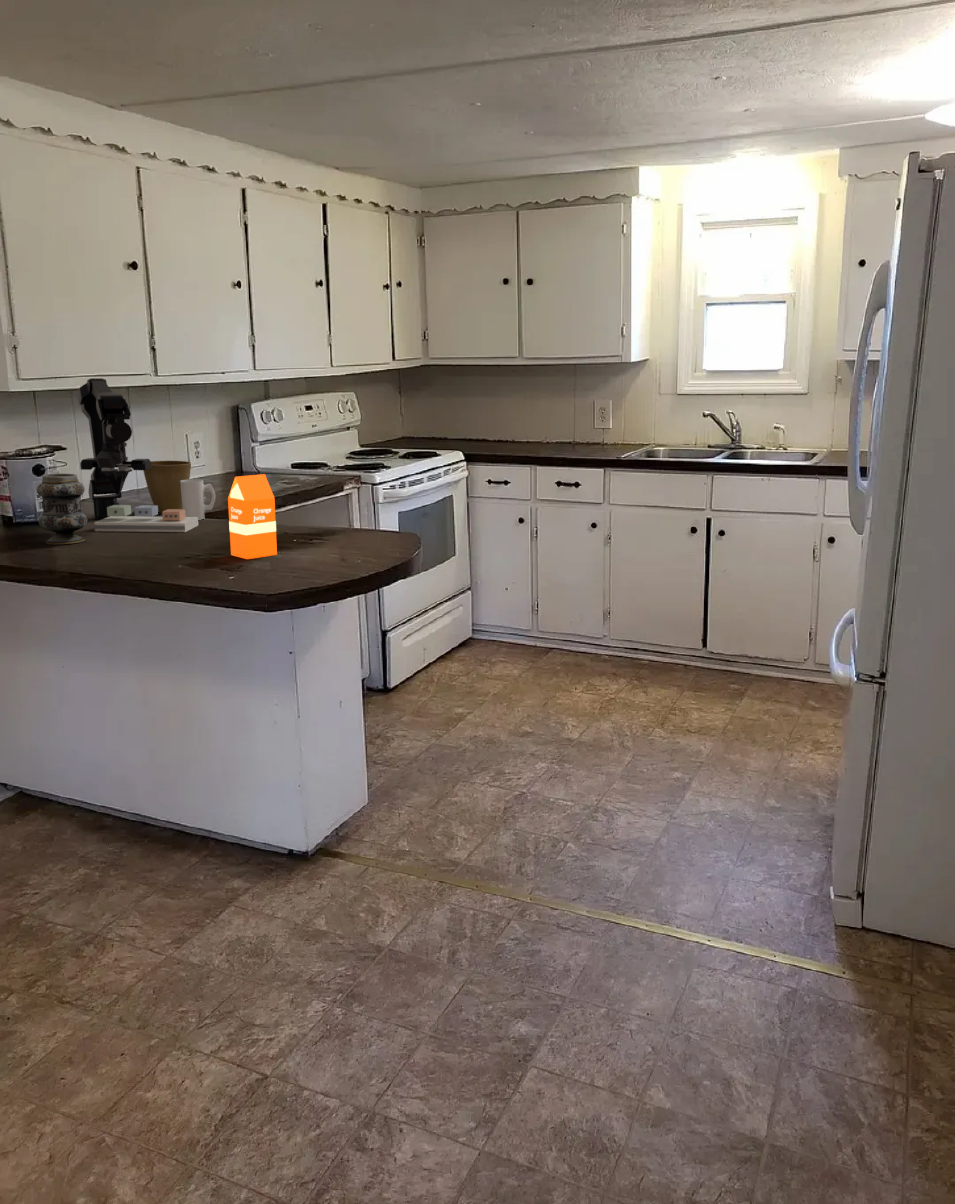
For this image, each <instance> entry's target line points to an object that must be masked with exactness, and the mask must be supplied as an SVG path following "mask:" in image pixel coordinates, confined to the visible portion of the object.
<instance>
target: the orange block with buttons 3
mask: <svg viewBox="0 0 955 1204" xmlns="http://www.w3.org/2000/svg"><path fill="white" fill-rule="evenodd" d="M161 514H162V516H161V517H163V520H179V521H180V520H182V519H184V518H186V516H185V509H183V508H182V509H167V510H165V511H163V512H162V513H161Z"/></svg>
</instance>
